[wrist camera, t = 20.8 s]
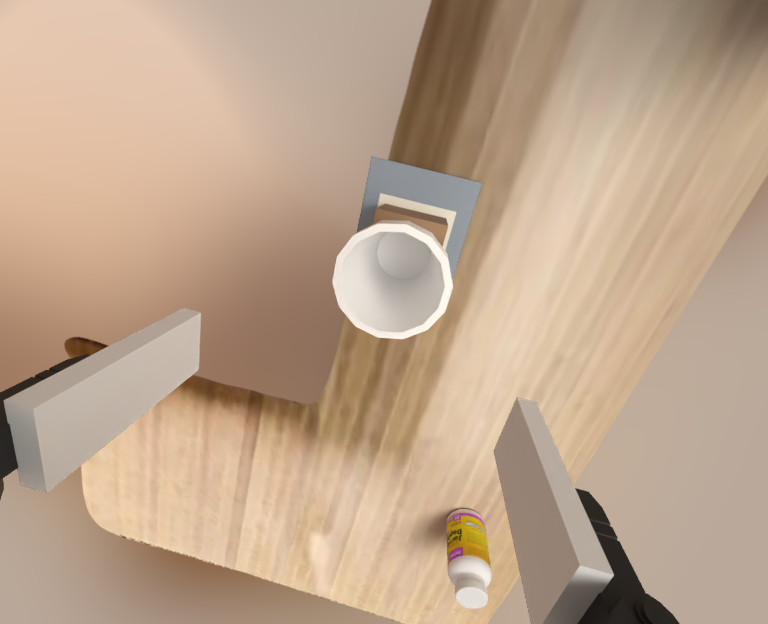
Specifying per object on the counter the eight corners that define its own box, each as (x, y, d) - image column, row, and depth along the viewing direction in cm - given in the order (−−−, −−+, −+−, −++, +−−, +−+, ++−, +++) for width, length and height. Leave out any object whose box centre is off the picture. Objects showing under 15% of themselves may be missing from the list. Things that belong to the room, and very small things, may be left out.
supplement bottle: (458, 501, 63) (463, 576, 51) (491, 517, 64) (504, 595, 52) (439, 524, 66) (440, 600, 54) (471, 539, 66) (479, 619, 54)
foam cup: (346, 243, 41) (309, 271, 29) (412, 190, 38) (401, 195, 26) (397, 307, 43) (382, 359, 31) (463, 261, 40) (476, 298, 28)
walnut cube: (385, 203, 47) (376, 208, 39) (446, 218, 46) (448, 225, 39) (372, 262, 49) (361, 277, 42) (429, 277, 49) (428, 294, 42)
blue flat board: (373, 156, 46) (371, 156, 45) (481, 183, 45) (482, 183, 44) (347, 288, 52) (345, 290, 51) (441, 312, 52) (441, 315, 51)
